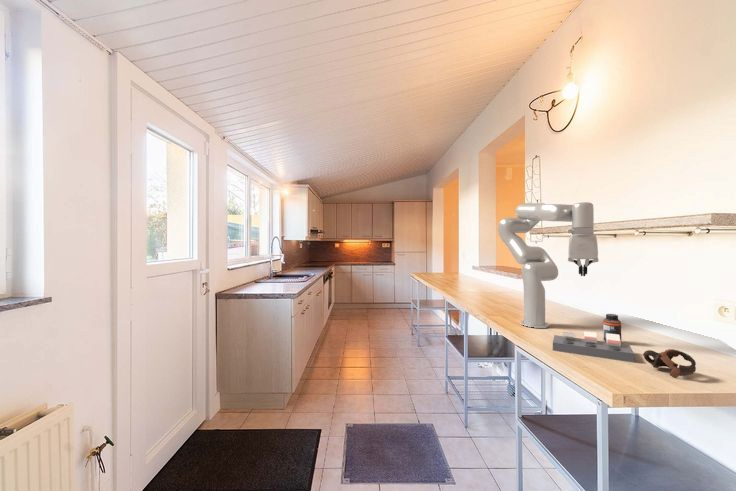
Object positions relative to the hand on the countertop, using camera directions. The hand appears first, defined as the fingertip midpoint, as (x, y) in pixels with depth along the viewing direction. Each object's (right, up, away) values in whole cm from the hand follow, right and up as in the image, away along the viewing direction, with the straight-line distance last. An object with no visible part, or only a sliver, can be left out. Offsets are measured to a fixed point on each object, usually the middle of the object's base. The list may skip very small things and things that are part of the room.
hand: (582, 275), depth 135 cm
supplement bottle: (+11, -27, -2) cm, 29 cm away
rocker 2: (+1, -24, -16) cm, 28 cm away
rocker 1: (-11, -24, -9) cm, 28 cm away
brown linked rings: (+4, -27, -34) cm, 44 cm away
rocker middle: (-5, -24, -12) cm, 27 cm away
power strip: (-7, -27, -14) cm, 31 cm away
